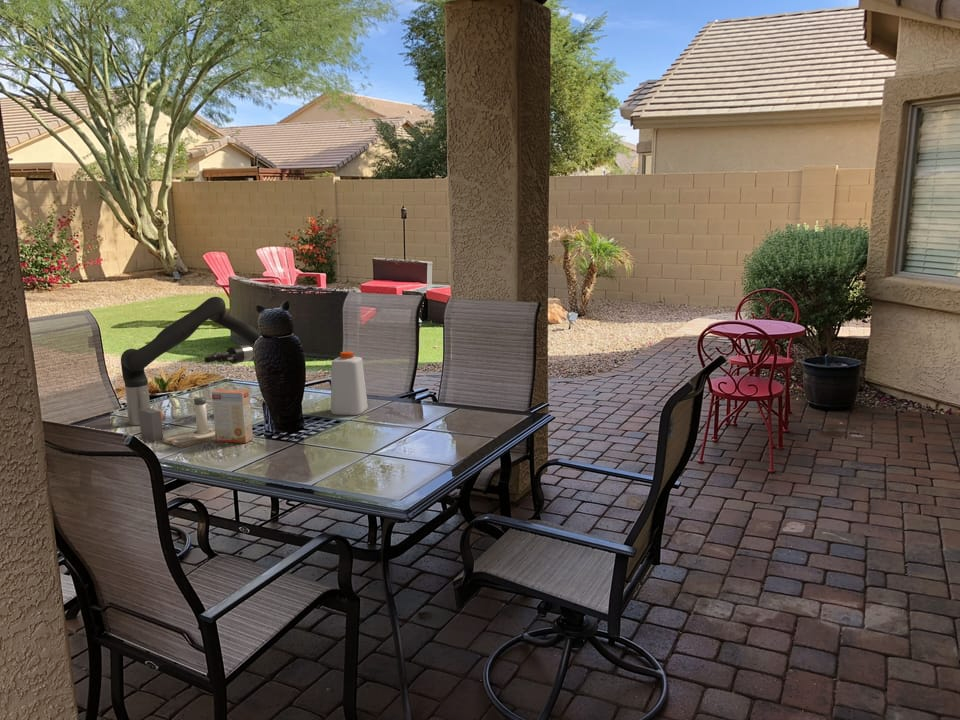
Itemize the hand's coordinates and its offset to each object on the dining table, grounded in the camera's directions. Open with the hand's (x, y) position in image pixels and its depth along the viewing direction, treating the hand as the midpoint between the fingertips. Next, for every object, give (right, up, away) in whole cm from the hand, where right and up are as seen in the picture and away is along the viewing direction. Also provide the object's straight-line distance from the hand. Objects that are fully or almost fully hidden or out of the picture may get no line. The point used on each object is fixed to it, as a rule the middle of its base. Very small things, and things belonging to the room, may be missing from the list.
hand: (205, 360), depth 324 cm
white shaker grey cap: (+2, -30, -10) cm, 32 cm away
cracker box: (+19, -33, -18) cm, 42 cm away
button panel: (-17, -32, -14) cm, 39 cm away
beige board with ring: (+1, -32, -15) cm, 36 cm away
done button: (-15, -25, -12) cm, 32 cm away
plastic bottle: (+58, -24, +25) cm, 67 cm away
